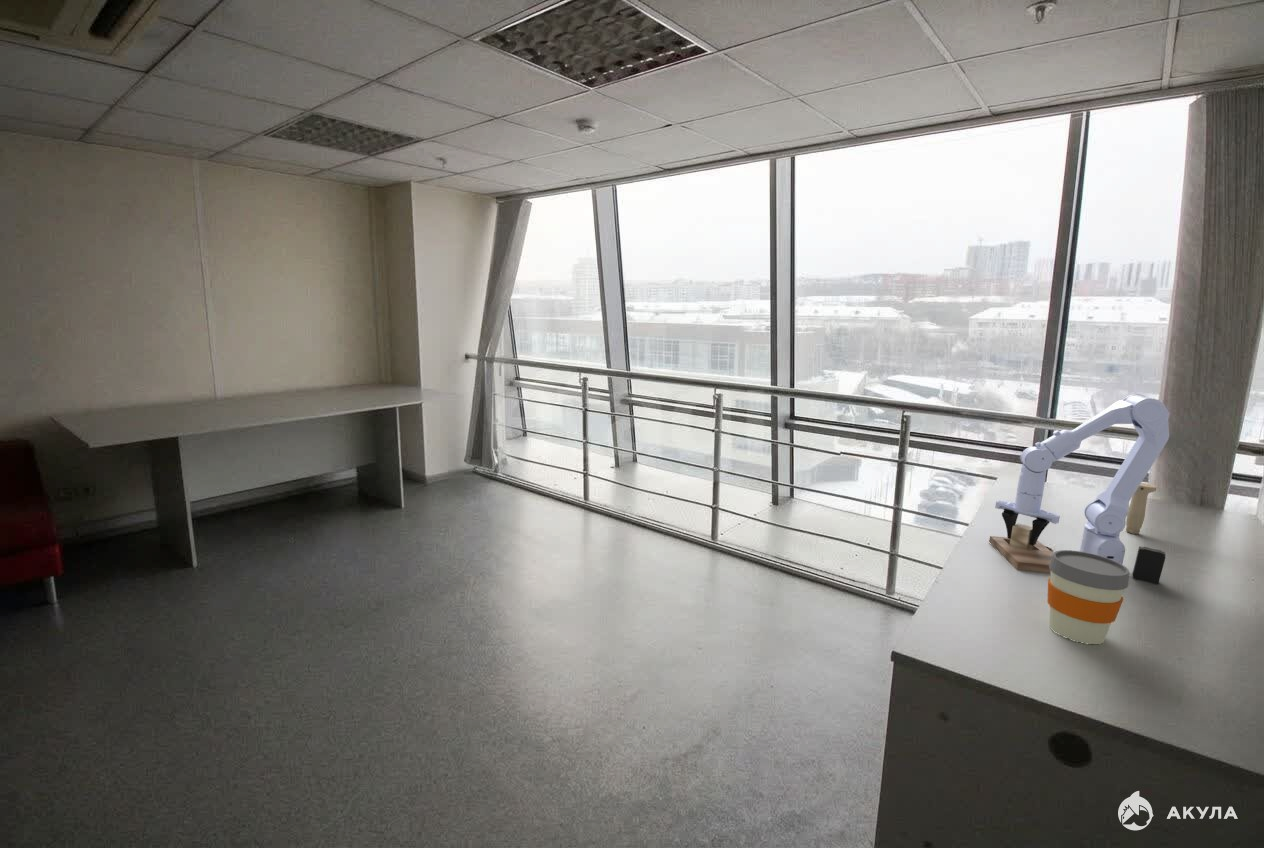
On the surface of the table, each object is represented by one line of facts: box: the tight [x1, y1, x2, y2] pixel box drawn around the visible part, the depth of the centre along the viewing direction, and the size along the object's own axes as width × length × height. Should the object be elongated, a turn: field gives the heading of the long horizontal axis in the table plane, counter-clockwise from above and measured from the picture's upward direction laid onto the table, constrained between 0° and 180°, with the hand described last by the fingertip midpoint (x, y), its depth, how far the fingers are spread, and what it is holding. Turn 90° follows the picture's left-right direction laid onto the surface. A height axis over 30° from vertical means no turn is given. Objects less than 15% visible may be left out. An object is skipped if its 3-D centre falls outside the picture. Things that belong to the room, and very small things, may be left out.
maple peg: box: [1010, 523, 1032, 549], centre depth 162 cm, size 4×4×7 cm
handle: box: [1125, 482, 1157, 535], centre depth 180 cm, size 5×6×15 cm
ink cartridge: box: [1131, 546, 1166, 585], centre depth 147 cm, size 5×2×8 cm, turn 52°
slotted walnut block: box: [988, 535, 1054, 574], centre depth 159 cm, size 18×12×2 cm, turn 170°
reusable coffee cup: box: [1047, 549, 1130, 645], centre depth 120 cm, size 13×13×15 cm
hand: (1021, 541), depth 163 cm, fingers open, 5 cm apart
